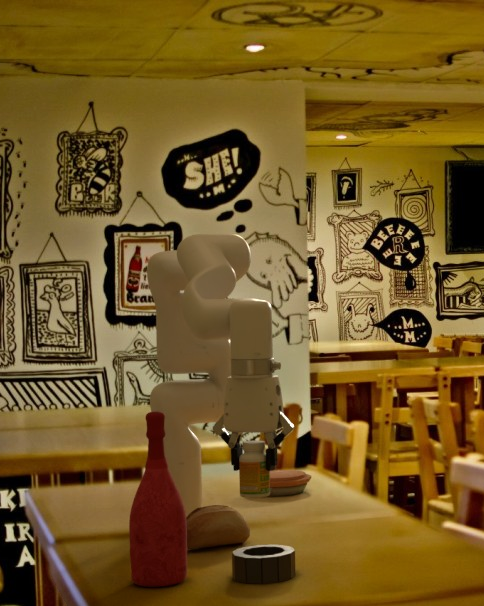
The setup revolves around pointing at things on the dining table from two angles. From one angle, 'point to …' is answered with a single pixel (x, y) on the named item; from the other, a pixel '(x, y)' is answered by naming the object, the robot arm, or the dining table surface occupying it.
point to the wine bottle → (157, 518)
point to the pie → (287, 482)
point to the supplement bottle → (254, 471)
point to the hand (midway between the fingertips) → (254, 468)
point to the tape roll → (263, 564)
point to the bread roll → (215, 527)
